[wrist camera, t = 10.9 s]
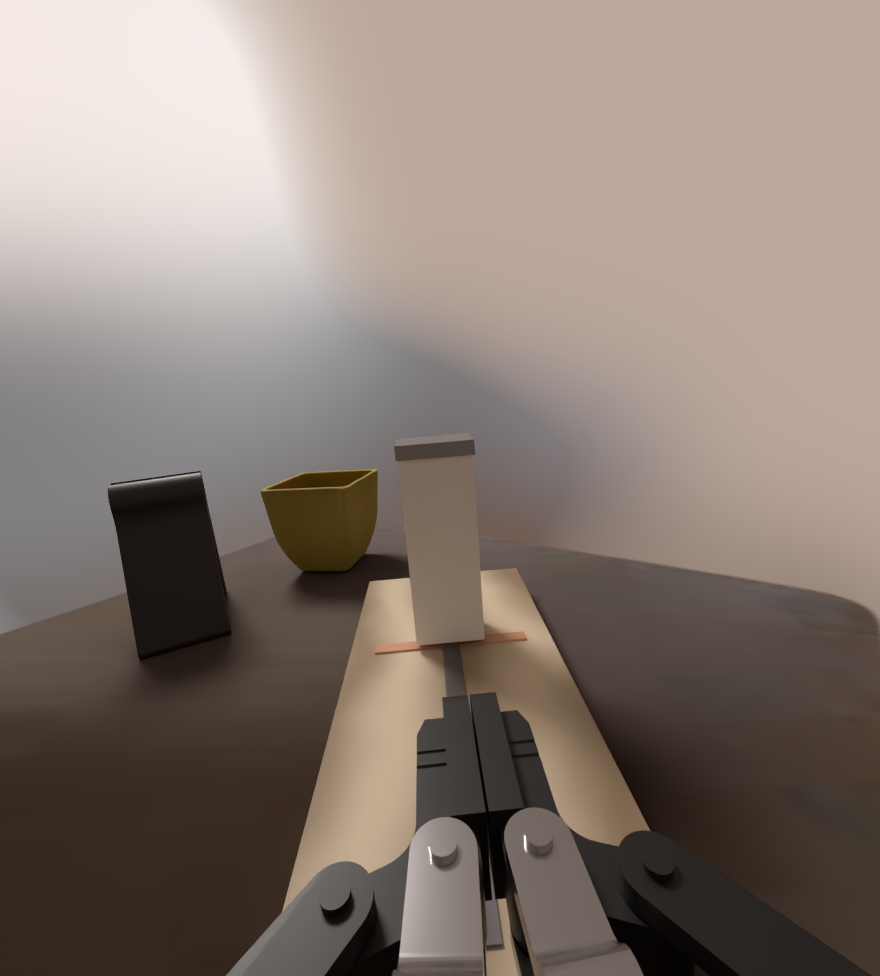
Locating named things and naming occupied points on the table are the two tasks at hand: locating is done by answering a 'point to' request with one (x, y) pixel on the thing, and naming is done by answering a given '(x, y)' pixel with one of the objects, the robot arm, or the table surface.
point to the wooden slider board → (418, 696)
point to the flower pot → (324, 517)
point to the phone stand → (169, 562)
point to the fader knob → (441, 537)
